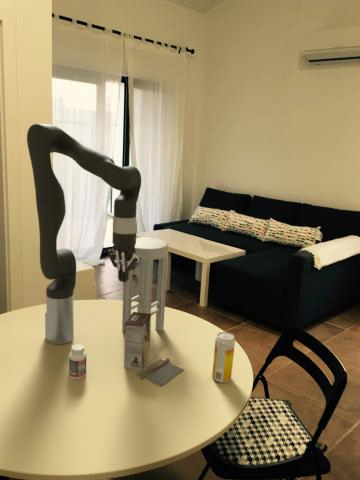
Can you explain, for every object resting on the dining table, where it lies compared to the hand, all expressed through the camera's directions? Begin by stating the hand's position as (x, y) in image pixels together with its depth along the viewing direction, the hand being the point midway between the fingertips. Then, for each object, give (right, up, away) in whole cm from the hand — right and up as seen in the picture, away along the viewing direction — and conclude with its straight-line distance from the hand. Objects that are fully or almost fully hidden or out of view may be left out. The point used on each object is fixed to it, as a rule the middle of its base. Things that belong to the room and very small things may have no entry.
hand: (123, 280), depth 147 cm
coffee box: (+4, -28, +4) cm, 28 cm away
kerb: (+11, -29, -1) cm, 31 cm away
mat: (+12, -29, -2) cm, 32 cm away
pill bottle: (-14, -29, -6) cm, 33 cm away
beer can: (+32, -31, -3) cm, 45 cm away
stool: (+4, -21, +26) cm, 34 cm away
